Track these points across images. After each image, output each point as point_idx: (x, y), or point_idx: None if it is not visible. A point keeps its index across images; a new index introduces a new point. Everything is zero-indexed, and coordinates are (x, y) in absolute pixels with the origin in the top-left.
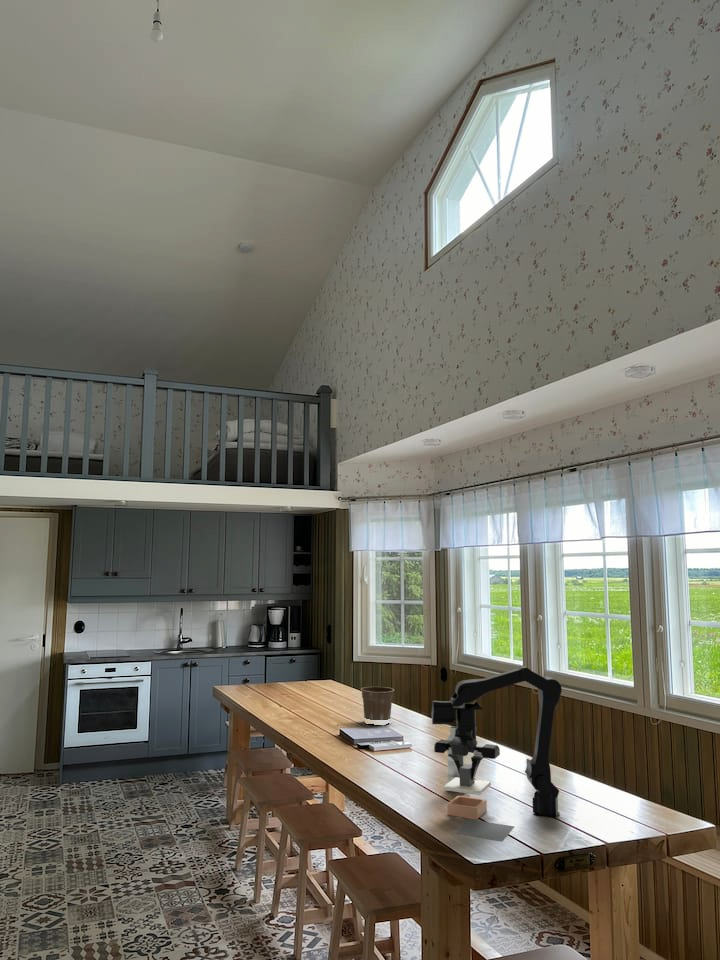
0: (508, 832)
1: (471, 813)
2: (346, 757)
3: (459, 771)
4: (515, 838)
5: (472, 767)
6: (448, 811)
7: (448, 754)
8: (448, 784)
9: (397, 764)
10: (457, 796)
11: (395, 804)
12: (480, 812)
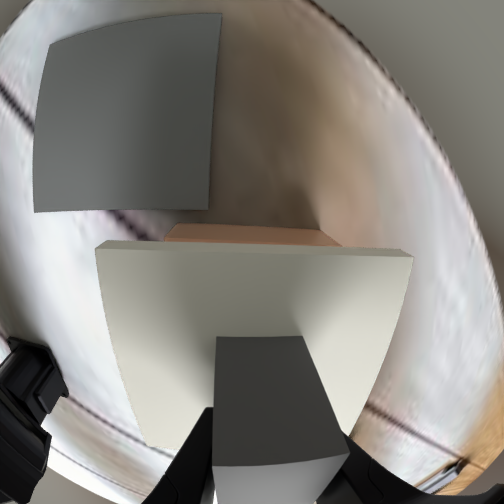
0: (36, 134)
1: (201, 231)
2: (482, 432)
3: None
4: (23, 118)
5: (191, 491)
6: (324, 235)
7: (499, 497)
8: (384, 320)
9: (428, 462)
10: None
11: (476, 279)
12: None
